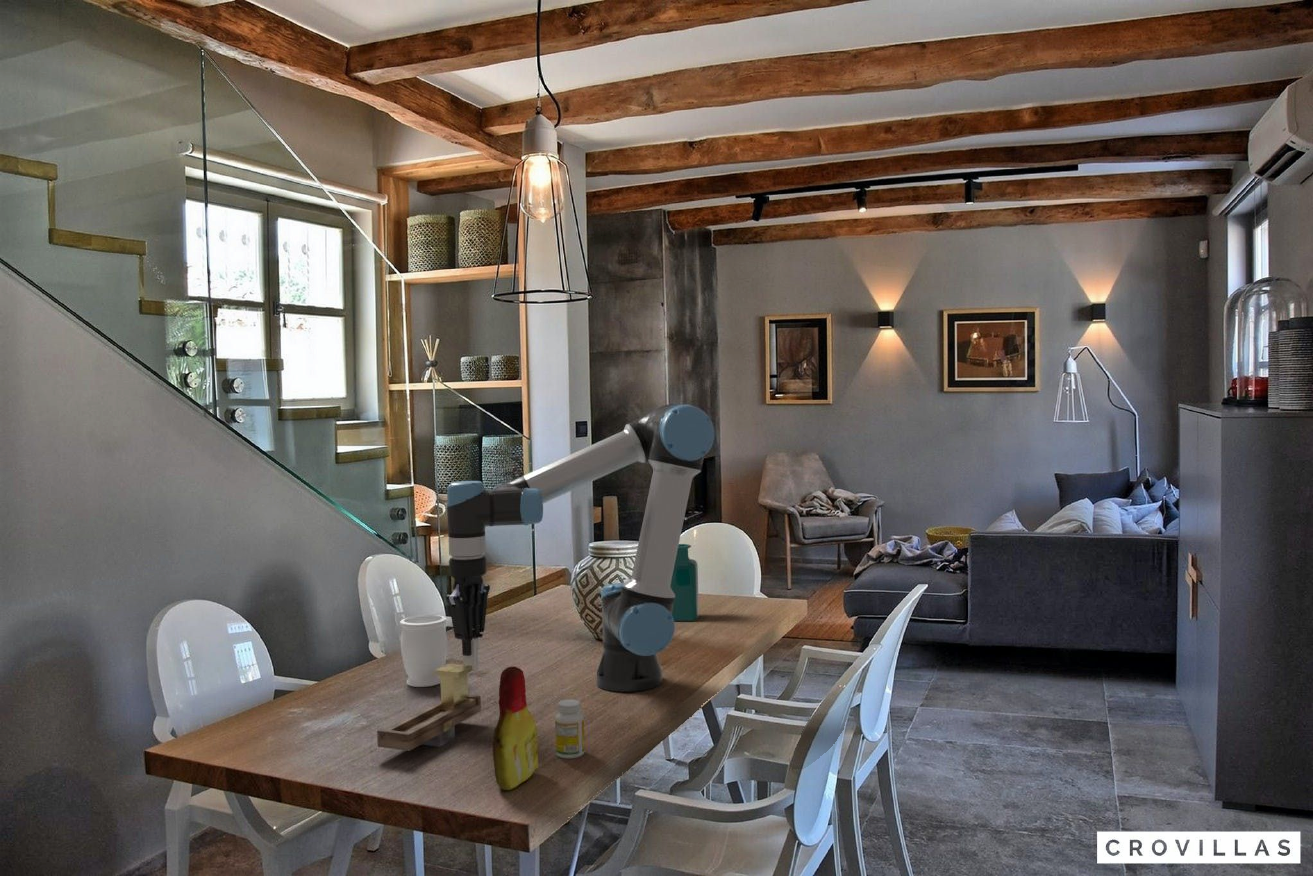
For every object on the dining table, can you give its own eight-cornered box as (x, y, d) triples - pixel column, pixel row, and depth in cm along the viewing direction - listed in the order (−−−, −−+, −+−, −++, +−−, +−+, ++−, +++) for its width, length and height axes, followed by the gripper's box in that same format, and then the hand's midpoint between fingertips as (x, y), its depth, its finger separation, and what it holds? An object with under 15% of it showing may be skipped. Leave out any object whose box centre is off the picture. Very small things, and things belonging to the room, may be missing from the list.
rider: (450, 702, 204) (448, 663, 204) (473, 704, 202) (472, 665, 202) (436, 709, 199) (434, 670, 199) (459, 712, 197) (458, 672, 197)
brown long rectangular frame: (451, 719, 206) (450, 693, 206) (482, 723, 203) (481, 696, 203) (377, 759, 184) (376, 730, 184) (410, 764, 181) (409, 734, 181)
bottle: (516, 797, 165) (512, 677, 164) (482, 793, 167) (477, 675, 166) (546, 770, 176) (542, 658, 175) (513, 767, 178) (509, 656, 177)
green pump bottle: (671, 615, 298) (669, 541, 297) (699, 615, 296) (697, 541, 295) (667, 622, 288) (665, 547, 287) (696, 622, 287) (694, 546, 286)
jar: (456, 678, 237) (454, 615, 236) (433, 690, 227) (430, 625, 226) (418, 675, 240) (415, 613, 239) (393, 687, 230) (390, 623, 230)
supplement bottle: (570, 761, 180) (568, 709, 180) (549, 755, 184) (548, 703, 183) (591, 752, 185) (589, 701, 184) (570, 746, 188) (569, 696, 188)
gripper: (469, 550, 213) (472, 660, 214) (433, 560, 201) (437, 676, 202) (499, 552, 210) (503, 663, 211) (465, 562, 198) (468, 679, 199)
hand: (470, 669), depth 206 cm, fingers closed
